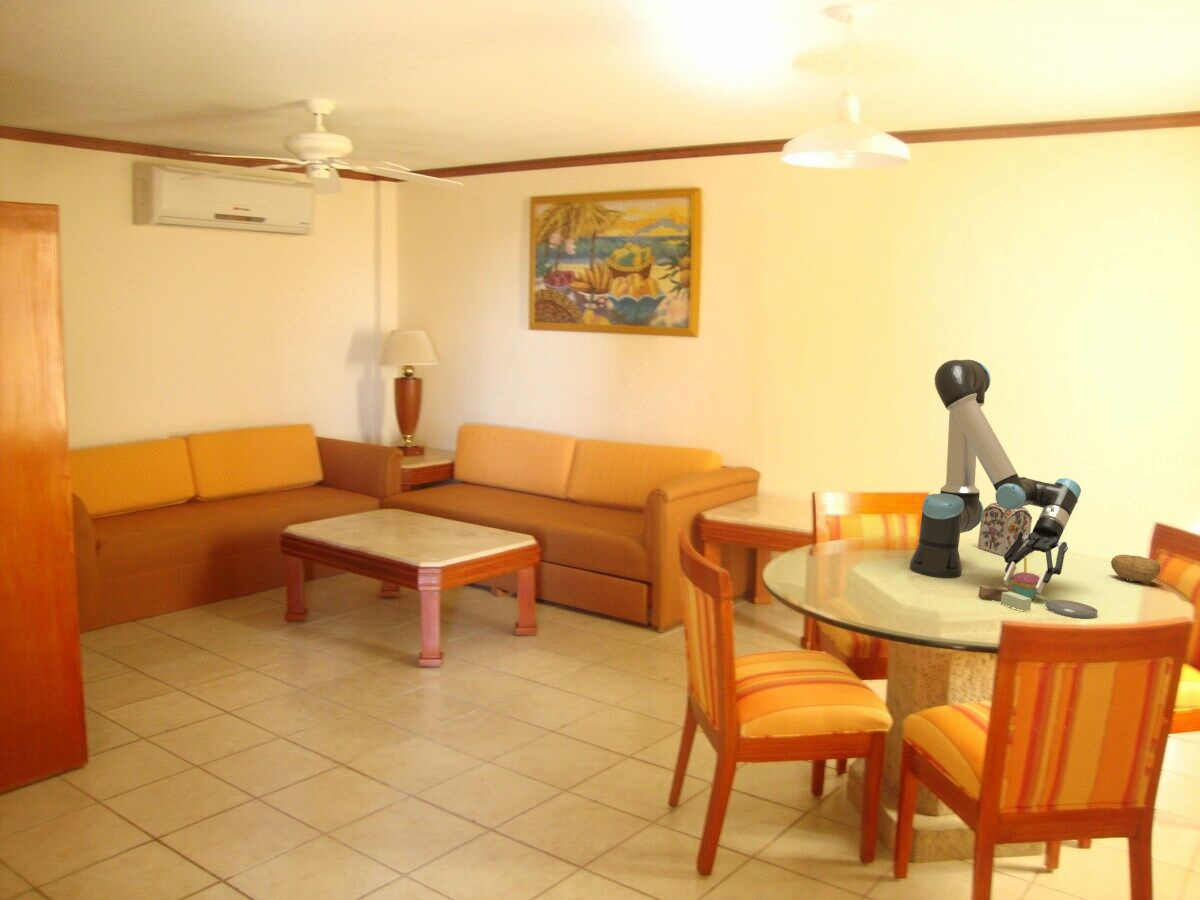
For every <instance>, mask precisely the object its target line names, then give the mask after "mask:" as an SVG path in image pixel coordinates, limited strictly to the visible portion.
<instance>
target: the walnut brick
mask: <svg viewBox="0 0 1200 900" xmlns="http://www.w3.org/2000/svg"><path fill="white" fill-rule="evenodd" d="M1002 592H1010V590H1009V588H1007V587H1006V586H996V585H985V584H980V585H979V591H978V597H979V599H981V600H983V601H992V600H994V601H993V602H1001V595H1002Z"/></svg>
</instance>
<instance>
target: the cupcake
mask: <svg viewBox="0 0 1200 900" xmlns="http://www.w3.org/2000/svg"><path fill="white" fill-rule="evenodd" d="M1023 561H1024V562H1023V571H1021V572H1018V573H1017V572H1016V573H1014V574H1013V576H1012V578H1011V580H1010V584H1012V586H1013V589H1014V593H1016V594H1019V595H1022V596H1025V597H1028V598H1031V599H1032V600H1034V599H1033V598H1035V597H1036V594H1038V593H1037V590H1036V585H1037V583H1038V581H1039V579H1040V577H1039V576H1038V575H1036V574H1034V573H1030V572H1027V570H1028V569H1027V566H1028V564H1027V563H1028V558H1027V556H1026V555H1025V557H1024V558H1023Z"/></svg>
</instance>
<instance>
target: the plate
mask: <svg viewBox="0 0 1200 900" xmlns="http://www.w3.org/2000/svg"><path fill="white" fill-rule="evenodd" d="M1044 604H1045V605H1044V607H1045V606H1046V607H1047V608H1048V609H1049V610H1051V611H1053V612H1055V613H1054V614H1056V613H1058V614H1057V615H1059V614H1061V615H1060V616H1063V615H1064V617H1069V618H1073V619H1074V618H1075V619H1084V620H1085V619H1087V620H1088V619H1095V618H1097V617H1098V613H1099V612H1098V609H1097V608H1095V607H1093V606H1091V605H1088V604H1087V603H1082V602H1078V601H1073V600H1068V599H1067V600H1065V599H1049V600H1046V601H1045V603H1044ZM1049 610H1048V611H1049ZM1051 611H1050V612H1051ZM1053 612H1052V613H1053Z"/></svg>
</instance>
